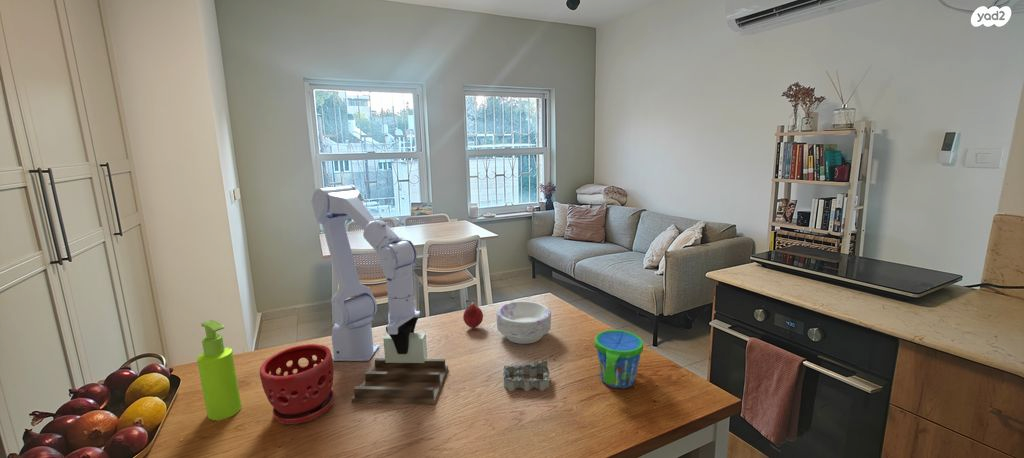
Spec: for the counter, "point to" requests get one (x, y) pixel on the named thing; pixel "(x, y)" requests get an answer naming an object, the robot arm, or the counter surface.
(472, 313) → the onion
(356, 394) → the rack
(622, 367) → the snack cup
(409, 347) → the pale green block
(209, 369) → the soap dispenser
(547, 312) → the paper bowls
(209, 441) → the counter surface
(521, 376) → the egg carton
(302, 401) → the plant pot
